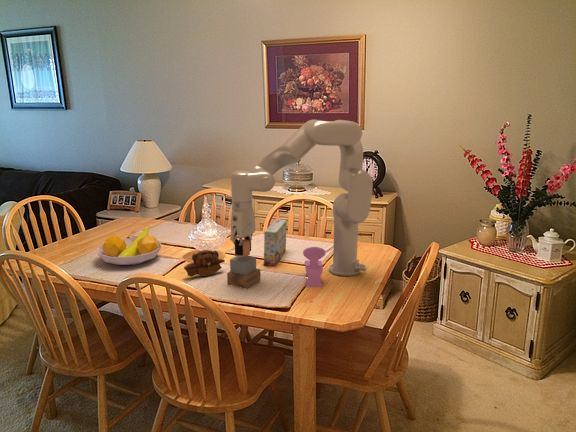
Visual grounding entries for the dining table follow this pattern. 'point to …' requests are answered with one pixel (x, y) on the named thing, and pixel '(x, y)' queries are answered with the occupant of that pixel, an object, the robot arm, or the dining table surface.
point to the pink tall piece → (313, 266)
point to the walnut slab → (243, 279)
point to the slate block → (243, 265)
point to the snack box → (274, 242)
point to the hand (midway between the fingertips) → (243, 252)
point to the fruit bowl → (129, 249)
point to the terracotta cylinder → (245, 247)
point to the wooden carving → (204, 263)
